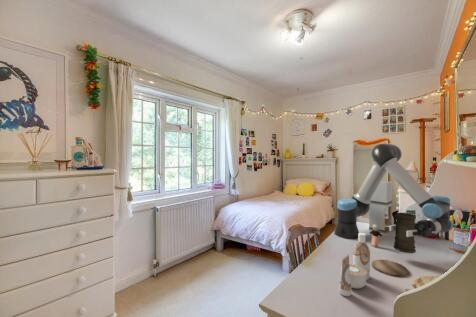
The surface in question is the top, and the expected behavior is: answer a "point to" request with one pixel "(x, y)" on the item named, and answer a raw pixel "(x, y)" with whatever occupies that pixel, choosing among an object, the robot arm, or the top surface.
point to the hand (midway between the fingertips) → (398, 231)
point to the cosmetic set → (355, 268)
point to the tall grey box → (380, 206)
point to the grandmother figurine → (375, 236)
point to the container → (404, 233)
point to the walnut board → (389, 268)
